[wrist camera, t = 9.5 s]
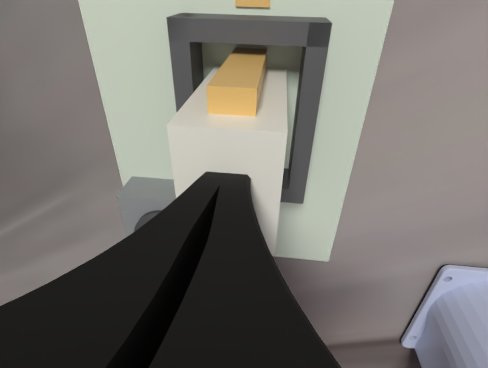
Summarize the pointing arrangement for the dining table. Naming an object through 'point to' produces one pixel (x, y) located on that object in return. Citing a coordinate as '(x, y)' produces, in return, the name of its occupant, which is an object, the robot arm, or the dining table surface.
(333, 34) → the board
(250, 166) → the plug
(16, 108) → the dining table surface
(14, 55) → the dining table surface
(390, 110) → the dining table surface
